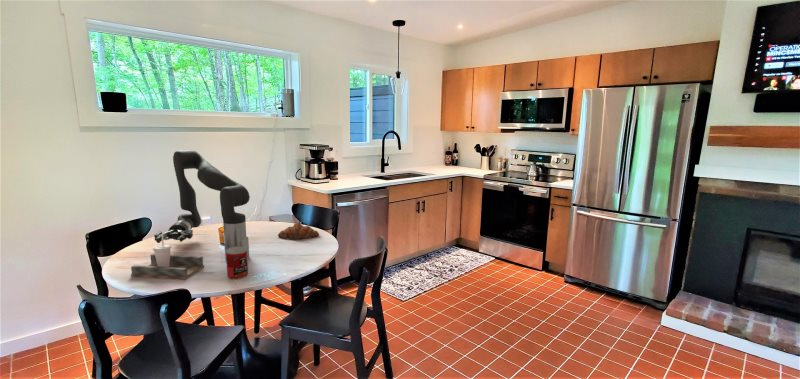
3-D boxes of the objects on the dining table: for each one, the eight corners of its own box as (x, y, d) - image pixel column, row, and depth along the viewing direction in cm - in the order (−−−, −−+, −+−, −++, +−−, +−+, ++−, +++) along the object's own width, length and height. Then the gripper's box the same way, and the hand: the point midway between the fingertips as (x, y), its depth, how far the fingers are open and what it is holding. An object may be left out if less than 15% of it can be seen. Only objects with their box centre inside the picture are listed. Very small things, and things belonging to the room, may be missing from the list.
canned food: (235, 280, 146) (233, 254, 144) (223, 276, 150) (221, 250, 148) (252, 274, 153) (251, 248, 151) (240, 270, 157) (238, 245, 155)
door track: (204, 267, 159) (203, 256, 158) (184, 279, 146) (183, 267, 145) (154, 264, 160) (153, 253, 159) (131, 276, 147) (129, 264, 147)
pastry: (302, 231, 216) (301, 217, 214) (320, 236, 207) (320, 222, 205) (277, 237, 202) (276, 223, 201) (295, 243, 193) (295, 228, 192)
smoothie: (164, 272, 149) (161, 239, 147) (150, 271, 151) (147, 237, 148) (176, 267, 156) (174, 234, 153) (163, 265, 157) (160, 233, 154)
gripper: (162, 222, 173) (149, 232, 157) (196, 221, 177) (187, 230, 161) (163, 238, 174) (151, 249, 159) (197, 236, 178) (188, 247, 163)
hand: (169, 240), depth 160 cm, fingers open, 8 cm apart
